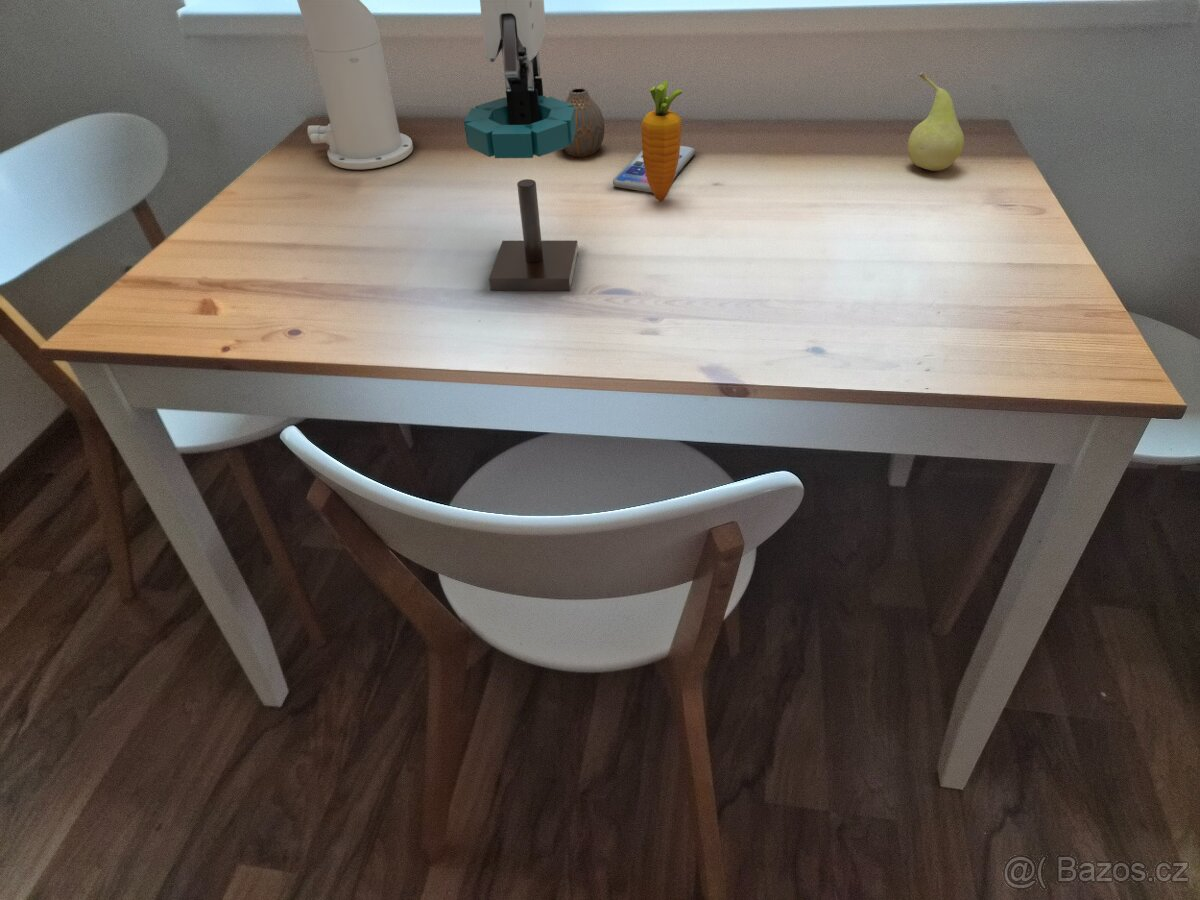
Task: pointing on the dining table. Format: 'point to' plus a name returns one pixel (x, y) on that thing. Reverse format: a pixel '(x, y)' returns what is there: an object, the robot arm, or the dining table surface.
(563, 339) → the dining table surface
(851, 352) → the dining table surface
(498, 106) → the ring
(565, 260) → the stand
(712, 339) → the dining table surface
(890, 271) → the dining table surface
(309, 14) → the robot arm
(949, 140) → the fruit
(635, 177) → the smartphone
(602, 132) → the vase
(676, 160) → the carrot
